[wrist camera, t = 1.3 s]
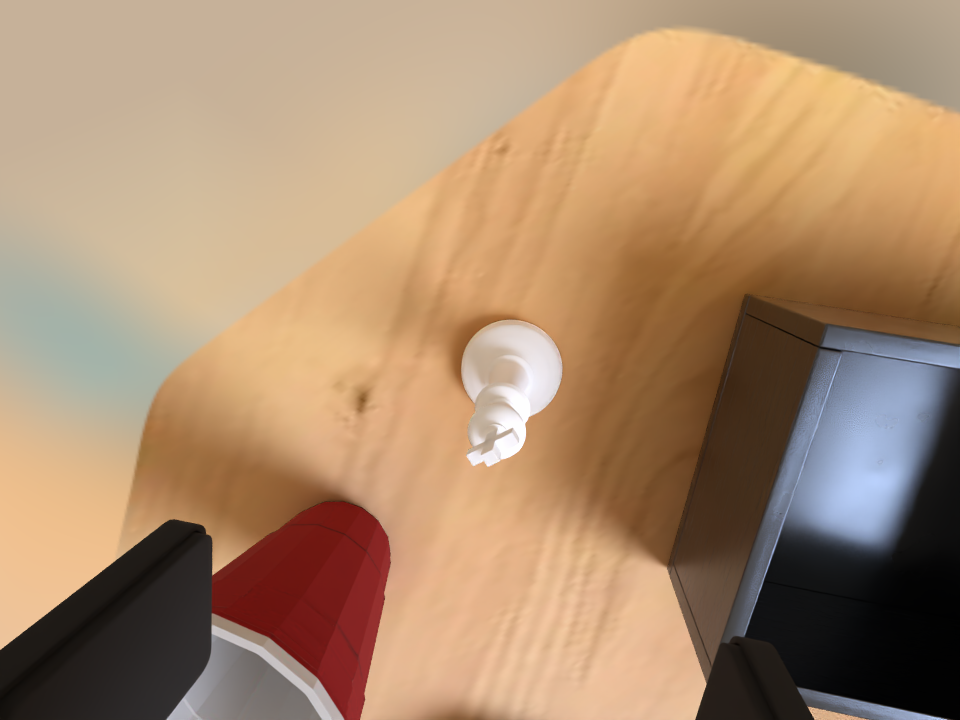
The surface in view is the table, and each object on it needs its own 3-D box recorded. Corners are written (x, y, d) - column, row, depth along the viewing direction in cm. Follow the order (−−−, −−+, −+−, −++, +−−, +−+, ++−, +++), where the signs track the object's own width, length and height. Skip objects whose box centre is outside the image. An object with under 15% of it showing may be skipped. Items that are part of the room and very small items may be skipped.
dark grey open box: (744, 293, 23) (826, 323, 16) (1097, 347, 22) (1344, 404, 15) (666, 568, 27) (706, 685, 20) (961, 627, 26) (1109, 772, 19)
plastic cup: (219, 479, 29) (6, 647, 18) (397, 439, 27) (286, 600, 16) (287, 637, 32) (138, 877, 20) (456, 611, 29) (398, 861, 18)
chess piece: (580, 388, 25) (601, 490, 16) (493, 432, 26) (462, 552, 17) (530, 300, 24) (521, 351, 15) (443, 349, 26) (381, 426, 16)
